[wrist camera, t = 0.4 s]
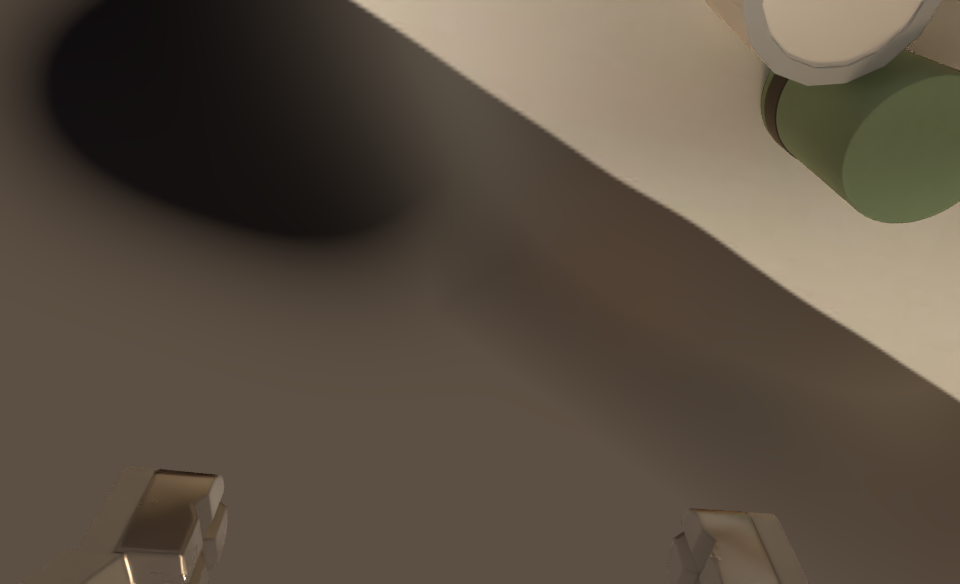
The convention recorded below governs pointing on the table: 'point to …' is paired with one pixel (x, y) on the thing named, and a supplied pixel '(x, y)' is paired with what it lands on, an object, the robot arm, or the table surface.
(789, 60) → the white cup
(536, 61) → the table surface
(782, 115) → the green cylinder
